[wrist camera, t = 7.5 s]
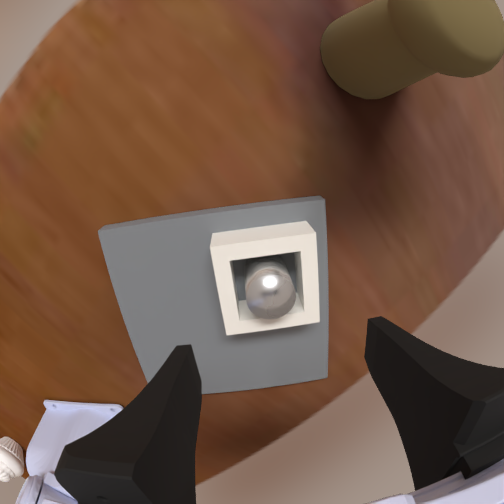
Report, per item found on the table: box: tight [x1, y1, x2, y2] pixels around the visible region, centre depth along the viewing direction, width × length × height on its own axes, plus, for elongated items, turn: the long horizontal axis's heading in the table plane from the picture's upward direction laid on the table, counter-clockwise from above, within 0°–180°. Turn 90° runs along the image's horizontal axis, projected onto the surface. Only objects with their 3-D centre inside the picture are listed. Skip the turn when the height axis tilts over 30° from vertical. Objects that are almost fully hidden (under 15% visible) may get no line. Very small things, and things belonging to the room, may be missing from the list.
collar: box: [210, 221, 320, 335], centre depth 19 cm, size 6×6×2 cm
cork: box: [320, 0, 504, 99], centre depth 12 cm, size 6×6×11 cm
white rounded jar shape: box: [0, 437, 24, 482], centre depth 26 cm, size 6×6×7 cm
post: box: [244, 254, 296, 319], centre depth 18 cm, size 3×3×4 cm
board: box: [98, 196, 328, 394], centre depth 22 cm, size 14×14×1 cm
